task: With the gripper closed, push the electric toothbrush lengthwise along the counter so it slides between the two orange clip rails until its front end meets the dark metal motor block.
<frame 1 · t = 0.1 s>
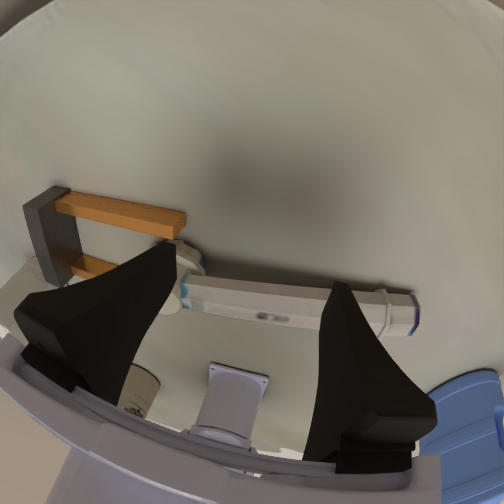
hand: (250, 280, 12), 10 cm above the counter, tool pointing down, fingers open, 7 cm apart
water jug: (457, 394, 31), on the counter
travel mug: (140, 374, 43), on the counter
electric toothbrush: (281, 278, 25), on the counter
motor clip: (124, 241, 26), on the counter
supplement box: (54, 279, 34), on the counter
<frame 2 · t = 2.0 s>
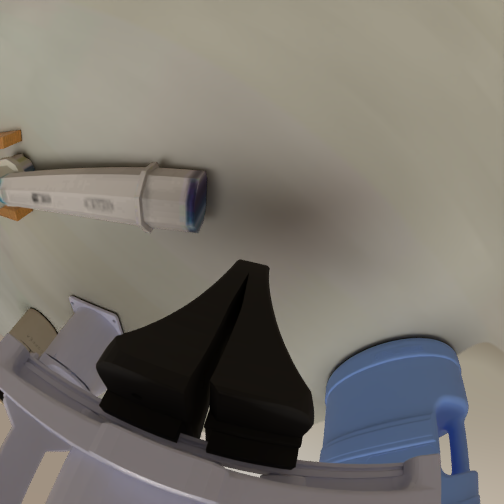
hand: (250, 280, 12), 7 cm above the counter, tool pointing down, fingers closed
water jug: (393, 376, 26), on the counter
travel mug: (44, 323, 38), on the counter
electric toothbrush: (81, 175, 20), on the counter
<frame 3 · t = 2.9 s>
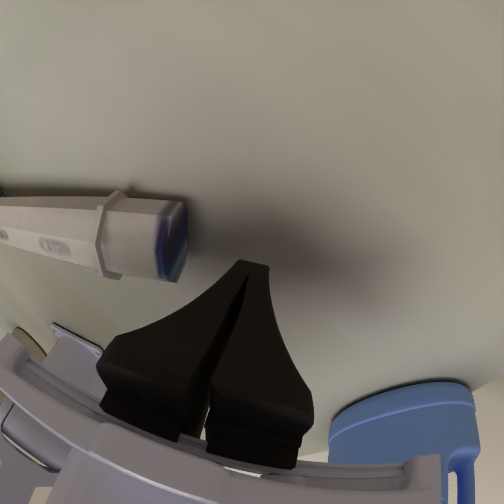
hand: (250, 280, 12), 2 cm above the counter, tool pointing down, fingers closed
water jug: (402, 414, 22), on the counter
travel mug: (32, 342, 34), on the counter
electric toothbrush: (47, 199, 16), on the counter
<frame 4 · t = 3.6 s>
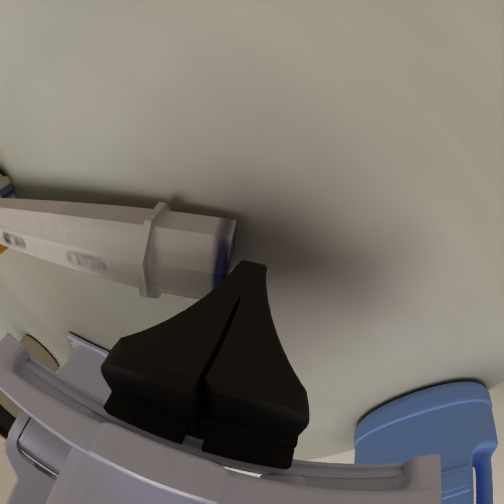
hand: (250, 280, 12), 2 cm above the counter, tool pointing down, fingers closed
water jug: (423, 414, 21), on the counter
travel mug: (42, 350, 34), on the counter
electric toothbrush: (66, 202, 16), on the counter, touching gripper
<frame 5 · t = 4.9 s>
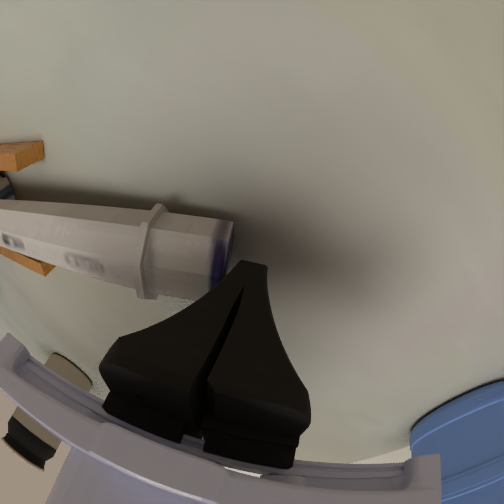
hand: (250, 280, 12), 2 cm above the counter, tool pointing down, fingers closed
water jug: (467, 411, 21), on the counter
travel mug: (72, 368, 33), on the counter
electric toothbrush: (64, 204, 16), on the counter, touching gripper
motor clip: (8, 195, 16), on the counter
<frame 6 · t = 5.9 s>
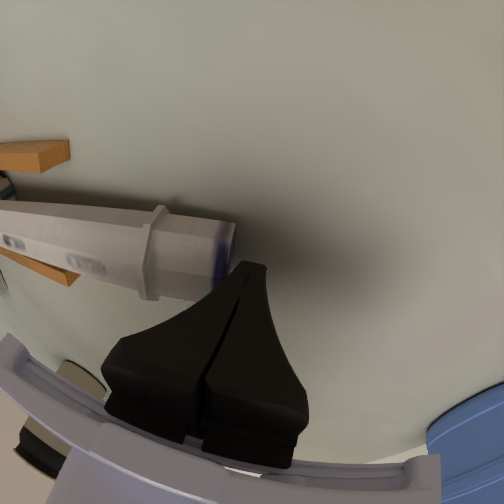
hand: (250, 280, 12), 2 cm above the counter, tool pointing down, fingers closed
water jug: (479, 410, 21), on the counter
travel mug: (85, 375, 33), on the counter
electric toothbrush: (66, 204, 16), on the counter, touching gripper, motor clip
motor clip: (23, 197, 16), on the counter
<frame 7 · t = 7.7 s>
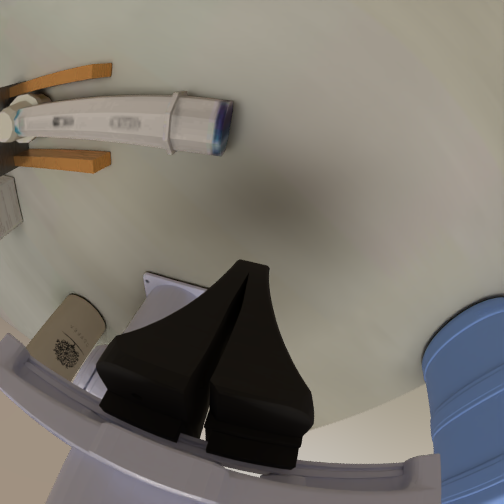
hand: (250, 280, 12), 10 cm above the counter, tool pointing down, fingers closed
water jug: (474, 339, 24), on the counter
travel mug: (87, 312, 37), on the counter
electric toothbrush: (103, 110, 20), on the counter
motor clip: (60, 117, 20), on the counter
supplement box: (8, 196, 28), on the counter
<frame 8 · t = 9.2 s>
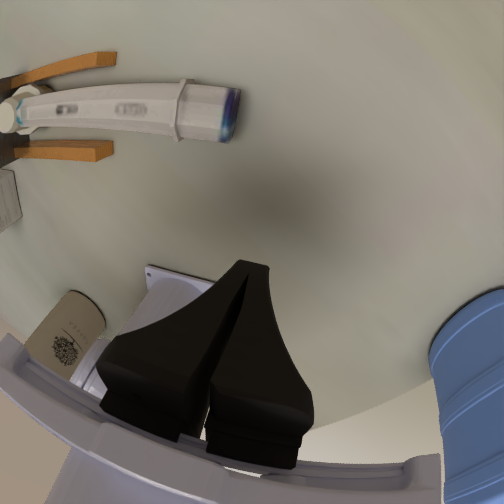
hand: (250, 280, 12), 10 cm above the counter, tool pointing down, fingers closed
water jug: (480, 332, 24), on the counter
travel mug: (86, 309, 36), on the counter
electric toothbrush: (107, 100, 19), on the counter
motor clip: (62, 107, 19), on the counter
supplement box: (8, 191, 27), on the counter
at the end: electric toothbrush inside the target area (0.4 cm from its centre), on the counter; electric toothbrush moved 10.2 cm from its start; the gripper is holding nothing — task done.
